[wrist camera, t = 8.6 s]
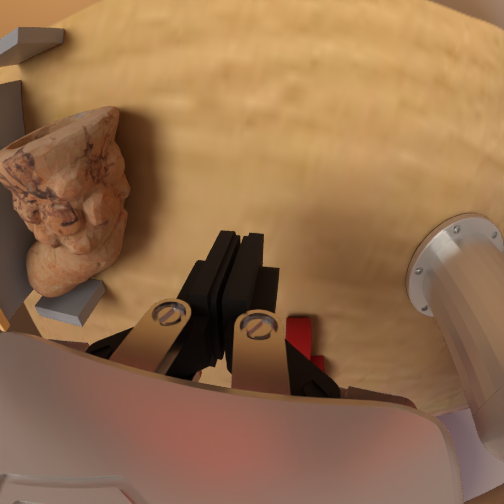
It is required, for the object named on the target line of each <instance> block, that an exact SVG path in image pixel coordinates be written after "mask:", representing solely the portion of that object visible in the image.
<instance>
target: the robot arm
mask: <svg viewBox="0 0 504 504" xmlns="http://www.w3.org/2000/svg"><path fill="white" fill-rule="evenodd" d="M263 243H264V234H259V233H249V235H248V236H244V237H243V239H242V242H241V245H240V235H236V233H235V231H223V230H221V231H220V233H219V235H218V237H217V239H216V241H215V243H214V245H213V247H212V249H211V250H210V252H209V254H208V256H207V258H206V260H205V261H202V260H198V261H197V262H196V263H195V265H194V267H193V268H192V270H191V272H190V274H189V276H188V278H187V280H186V281H185V283H184V285H183V287H182V289H181V291H180V293H179V295H178V297H177V298H176V299H174V298H172V299H164V300H161V301H159V302H157V303H155V304H154V305H152V306H151V307H150V308H149V310H148V311H147V312H146V313H145V314H144V316H143V317H142V318H141V319H140V321H139V322H138V323H137V324H136V326H135V327H132V328H130V329H127V330H125V331H122V332H120V333H117V334H115V335H112V336H109V337H107V338H104V339H102V340H99V341H97V342H95V343H93V344H92V345H90V346H89V344H88V343H83V342H72V341H62V340H52V339H44V338H41V337H38V336H34V335H30V334H26V333H19V332H3V333H0V504H504V483H503V484H502V485H500V486H498V487H496V488H494V489H492V490H490V491H488V492H486V493H484V494H481V495H479V496H477V497H475V498H473V499H470V500H468V501H466V502H464V498H463V497H464V495H463V486H462V479H461V472H460V466H459V462H458V457H457V453H456V449H455V446H454V443H453V440H452V438H451V435H450V433H449V432H448V430H447V428H446V427H445V425H444V424H443V423H442V422H441V421H440V420H439V419H437V418H436V417H434V416H432V415H431V414H428V413H426V412H424V411H421V410H418V409H417V408H416V406H415V404H414V403H413V402H412V401H411V400H409V399H408V398H405V397H402V396H396V395H390V394H385V393H379V392H374V391H369V390H365V389H360V388H355V387H351V386H349V387H348V389H345V388H341V387H338V385H337V384H336V383H335V382H334V381H333V380H332V379H331V378H330V377H329V376H328V375H326V374H325V373H324V372H323V371H322V370H321V369H319V368H318V367H317V366H316V365H315V364H314V363H312V362H311V361H310V360H309V359H308V358H307V357H305V356H304V355H303V354H302V353H301V352H300V351H299V350H297V349H296V348H295V347H294V346H293V345H292V344H291V343H289V342H288V341H287V340H286V339H285V337H284V328H283V324H282V321H281V319H280V318H279V317H278V316H277V315H275V308H276V300H277V291H278V280H279V268H273V267H263V266H262V265H263ZM503 254H504V244H503V238H502V235H501V233H500V230H499V229H498V228H497V227H496V225H495V224H494V223H493V222H492V221H490V220H489V219H488V218H486V217H484V216H483V215H480V214H474V213H470V214H462V215H459V216H455V217H453V218H451V219H449V220H447V221H445V222H443V223H442V224H441V225H439V226H438V227H437V228H435V229H434V230H433V231H432V232H431V233H430V234H429V235H428V236H427V237H426V238H425V239H424V241H423V242H422V243H421V244H420V246H419V247H418V249H417V250H416V252H415V254H414V255H413V257H412V260H411V262H410V265H409V267H408V271H407V276H406V289H407V294H408V297H409V299H410V301H411V303H412V305H413V306H414V308H415V309H416V310H417V311H418V312H420V313H421V314H424V315H426V316H430V317H434V318H435V320H436V322H437V324H438V326H439V329H440V331H441V333H442V335H443V338H444V340H445V342H446V345H447V347H448V349H449V352H450V354H451V357H452V359H453V362H454V364H455V367H456V370H457V372H458V375H459V378H460V380H461V383H462V386H463V389H464V392H465V395H466V398H467V401H468V404H469V407H470V410H471V413H472V417H473V420H474V423H475V427H476V430H477V434H478V436H479V439H480V441H481V443H482V444H483V446H484V447H485V448H486V450H487V451H488V452H489V453H490V454H492V455H493V456H495V457H496V458H498V459H499V460H501V461H503V462H504V255H503ZM224 352H225V356H226V362H227V369H228V371H229V372H230V373H231V374H232V381H231V388H227V387H221V386H215V385H209V384H204V383H198V381H199V379H200V377H201V374H202V369H204V368H206V367H208V366H211V367H215V366H216V362H217V359H220V360H222V359H223V356H224Z"/></svg>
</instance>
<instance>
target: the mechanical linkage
mask: <svg viewBox="0 0 504 504" xmlns="http://www.w3.org/2000/svg"><path fill="white" fill-rule="evenodd" d="M286 340H287V341H288V342H289V343H291V344H292V345H293V346H294V347H295V348H296V349H297V350H299V351H300V352H301V353H302V354H303V355H304V356H305V357H307V358H308V359H309V360H310V361H311V362H312V363H314V364H315V365H316V366H317V367H318V368H319V369H321V370H322V371H323V372H324V373H325V368H324V357H323V356H311V320H310V318H286Z"/></svg>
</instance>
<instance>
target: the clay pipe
mask: <svg viewBox="0 0 504 504" xmlns="http://www.w3.org/2000/svg"><path fill="white" fill-rule="evenodd" d="M119 114H120V113H119V110H118V108H117V107H113V106H108V107H102V108H99V109H95V110H90V111H86V112H82V113H78V114H75V115H72V116H69V117H66V118H63V119H60V120H58V121H55V122H53V123H50V124H48V125H46V126H43V127H41V128H39V129H37V130H35V131H33V132H31V133H29V134H27V135H25V136H23V137H21V138H20V139H18V140H16V141H14V142H13V143H11V144H9V145H8V146H6V147H5V148H3V149H2V150H1V151H0V182H1V183H2V184H3V185H4V186H5V187H6V188H7V189H9V190H10V191H11V192H12V194H13V206H14V210H16V211H17V212H18V214H19V215H20V217H21V219H23V220H24V222H25V223H26V225H27V226H28V228H29V229H30V230H31V231H32V232H33V233H34V235H35V238H36V239H37V241H35V242H34V243H33V245H32V246H31V247H30V248H29V250H28V252H27V255H26V268H27V276H28V281H29V283H30V286H31V287H32V288H33V289H34V290H35V291H36V292H37V293H39V294H41V295H42V296H45V297H49V298H53V297H59V296H61V295H64V294H66V293H68V292H69V291H71V290H72V289H74V288H75V287H76V286H77V285H78V284H81V283H83V282H85V281H87V280H88V279H89V278H90V277H92V276H93V275H95V274H97V273H99V272H101V271H103V270H105V269H106V268H108V267H110V266H111V265H113V264H114V262H115V261H116V260H117V258H118V257H119V255H120V253H121V250H122V245H123V235H124V230H125V228H126V223H127V217H128V212H127V211H126V210H125V209H124V204H125V198H127V197H128V196H129V193H130V190H131V188H130V186H129V184H128V182H127V179H126V175H125V174H124V171H125V162H124V158H123V156H122V155H121V151H120V148H119V146H118V145H117V144H116V142H115V134H116V130H117V126H118V123H119Z"/></svg>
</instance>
